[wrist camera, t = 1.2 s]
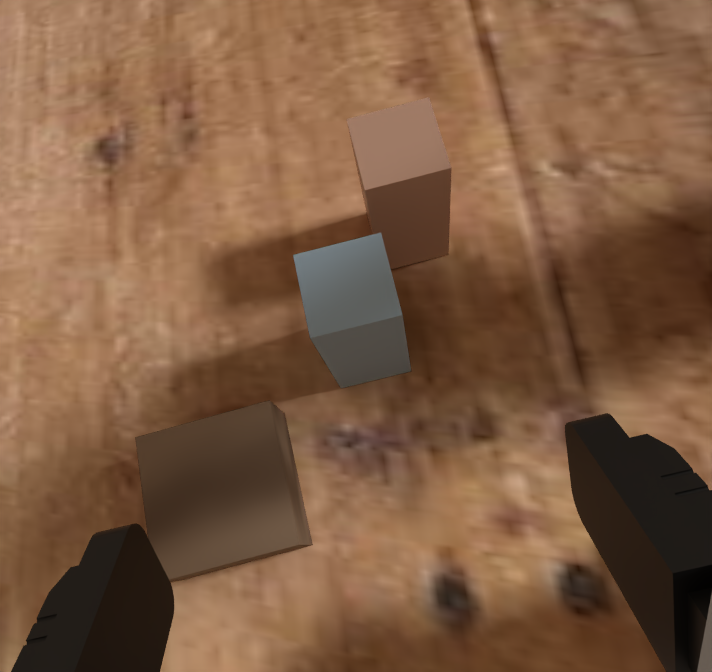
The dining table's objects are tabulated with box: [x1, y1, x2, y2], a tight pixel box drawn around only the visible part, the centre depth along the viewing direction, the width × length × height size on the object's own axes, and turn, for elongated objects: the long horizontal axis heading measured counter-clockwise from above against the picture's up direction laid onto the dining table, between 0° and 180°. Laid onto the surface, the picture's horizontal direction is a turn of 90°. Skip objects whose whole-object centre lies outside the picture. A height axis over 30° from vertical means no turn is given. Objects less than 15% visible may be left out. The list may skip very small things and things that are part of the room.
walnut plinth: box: [135, 400, 313, 582], centre depth 36 cm, size 8×8×4 cm
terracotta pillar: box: [347, 97, 451, 269], centre depth 37 cm, size 4×4×10 cm
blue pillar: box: [293, 233, 411, 388], centre depth 35 cm, size 4×4×10 cm
